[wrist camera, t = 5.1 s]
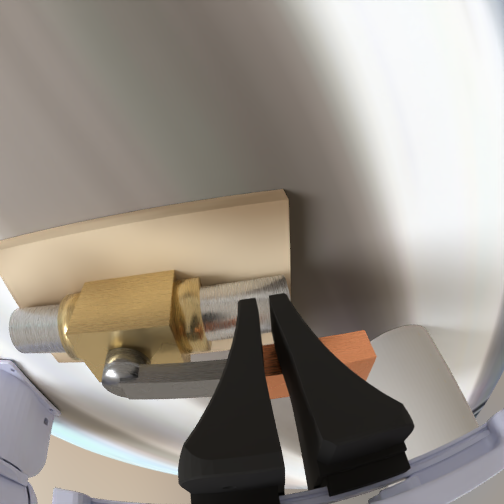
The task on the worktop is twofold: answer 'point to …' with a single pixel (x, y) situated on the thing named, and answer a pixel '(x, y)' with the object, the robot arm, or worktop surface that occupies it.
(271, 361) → the valve lever
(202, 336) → the valve pipe
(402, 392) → the cup
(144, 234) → the mount board
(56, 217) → the worktop surface
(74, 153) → the worktop surface
